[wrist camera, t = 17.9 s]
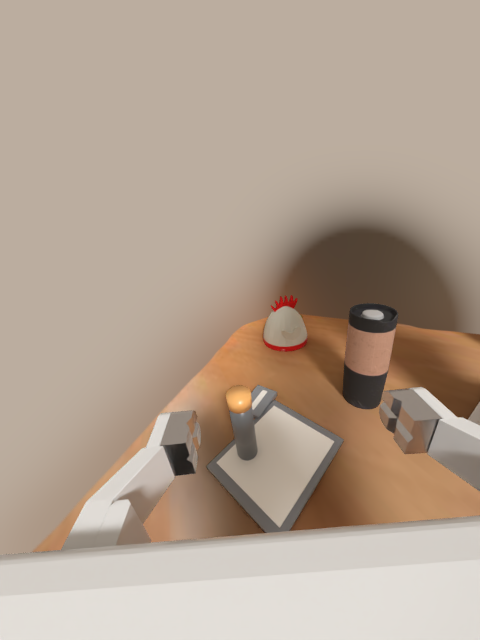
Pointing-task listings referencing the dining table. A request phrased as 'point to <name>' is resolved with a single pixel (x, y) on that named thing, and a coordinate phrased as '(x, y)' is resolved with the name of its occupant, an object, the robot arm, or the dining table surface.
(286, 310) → the kitchen timer
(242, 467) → the paper pad
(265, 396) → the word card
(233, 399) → the marker
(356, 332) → the travel mug
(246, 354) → the dining table surface
